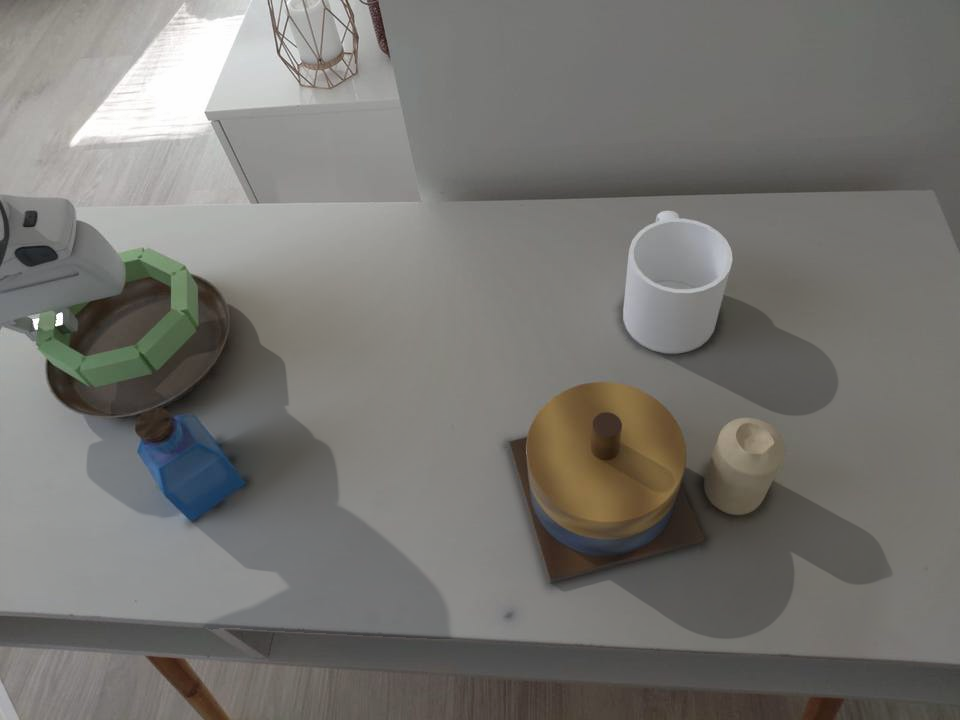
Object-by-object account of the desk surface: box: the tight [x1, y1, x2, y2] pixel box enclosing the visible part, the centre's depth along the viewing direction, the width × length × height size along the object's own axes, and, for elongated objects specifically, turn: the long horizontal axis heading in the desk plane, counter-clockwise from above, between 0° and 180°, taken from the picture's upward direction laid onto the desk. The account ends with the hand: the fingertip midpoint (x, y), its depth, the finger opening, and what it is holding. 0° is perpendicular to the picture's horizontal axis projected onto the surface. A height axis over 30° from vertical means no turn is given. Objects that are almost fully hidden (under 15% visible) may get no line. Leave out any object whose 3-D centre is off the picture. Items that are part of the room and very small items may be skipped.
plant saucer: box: [44, 273, 231, 419], centre depth 86 cm, size 21×21×3 cm
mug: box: [622, 210, 733, 355], centre depth 80 cm, size 13×10×10 cm
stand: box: [508, 381, 705, 584], centre depth 67 cm, size 14×14×13 cm
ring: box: [35, 246, 199, 387], centre depth 81 cm, size 16×16×3 cm
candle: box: [703, 417, 786, 516], centre depth 67 cm, size 6×6×10 cm
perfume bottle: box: [134, 407, 247, 523], centre depth 72 cm, size 6×6×12 cm
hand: (56, 331), depth 81 cm, fingers closed on ring, 2 cm apart
